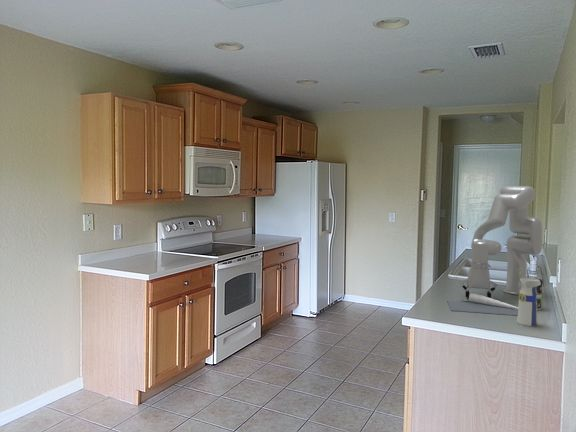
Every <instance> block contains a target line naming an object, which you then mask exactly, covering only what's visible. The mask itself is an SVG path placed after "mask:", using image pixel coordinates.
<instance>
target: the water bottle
mask: <svg viewBox="0 0 576 432" xmlns="http://www.w3.org/2000/svg"><path fill="white" fill-rule="evenodd" d="M518 269H519V272H520V273H521V271H522V269H521V266H520V268H518ZM519 272H518V273H519ZM535 278H536V277H531V278H520V282H521V290H520V295H518V299H520V300H519V305H517V307H518V309H517V312H518V316H516V317H517V319H516V322H517V324H519V325H522V326H528V327H530V326H531V327H535V326H537V325H538V321H537V320H538V310H537V302H536V295H537V294H538V293H537V292H536V287H537V286H539V285H541V283H540V281H539V280H538V279H539V278H538V279H535ZM520 282H519V285H520Z"/></svg>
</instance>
